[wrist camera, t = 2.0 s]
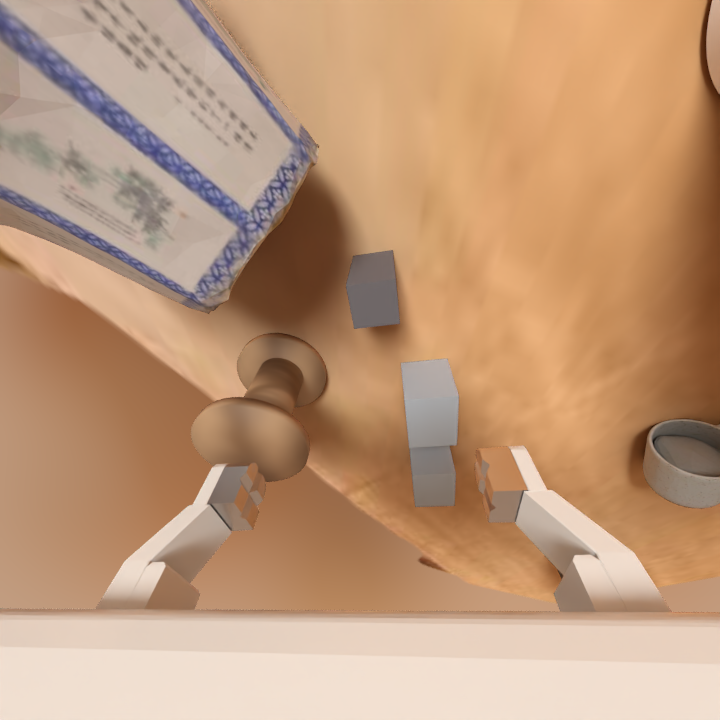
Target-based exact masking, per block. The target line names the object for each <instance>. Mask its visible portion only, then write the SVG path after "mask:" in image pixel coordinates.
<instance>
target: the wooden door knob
mask: <svg viewBox="0 0 720 720" xmlns="http://www.w3.org/2000/svg"><path fill="white" fill-rule="evenodd" d="M237 371H238V375H239V378H240V380H241V382H242V383H243V385H244V386H245V388H246V389H247V392H246V394H245V396H244V397H232V398H224V399H221V400H217V401H215V402H212V403H211V404H209V405H207V406H206V407H205V408H204V409H203V410H202V411H201V413H200V414H199V415H198V417H197V418H196V420H195V421H194V423H193V425H192V428H191V439H192V442H193V445H194V447H195V448H196V450H197V451H198V453H199V454H200V455H201V456H202V457H203V458H204V459H205V460H206V461H207V462H209V463H210V464H211V465H213V466H215V465H216V464H228V463H256V465H257V466H258V471H257V472H259V473H260V474H262V475H263V477H264V478H265V482H272V481H279V480H284V479H287V478H290V477H292V476H294V475H296V474H297V473H298V472H300V471H301V470H302V469H303V467H304V466H305V464H306V462H307V459H308V455H309V450H310V440H309V436H308V434H307V432H306V430H305V428H304V427H303V426H302V424H301V423H300V422H299V421H298V420H297V419H296V418H295V417H294V416H292V414H293V411H294V408H295V407H301V406H304V405H307V404H309V403H311V402H313V401H314V400H316V399H317V398H318V397H319V396H320V394H321V393H322V391H323V389H324V386H325V382H326V376H327V372H326V366H325V364H324V361H323V359H322V357H321V356H320V355H319V353H318V352H317V351H316V350H315V349H314V348H313V347H312V346H311V345H309V344H308V343H306V342H305V341H303V340H301V339H299V338H297V337H294V336H291V335H287V334H280V333H270V334H264V335H261V336H258V337H256V338H254V339H253V340H251V341H250V342H249V343H248V344H247V345H246V346H245V347H244V349H243V350H242V352H241V353H240V355H239V357H238V361H237Z"/></svg>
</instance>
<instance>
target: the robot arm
mask: <svg viewBox="0 0 720 720" xmlns="http://www.w3.org/2000/svg"><path fill="white" fill-rule="evenodd" d="M706 52H707V62H708V68H709V72H710V76H711V79H712V81H713V84H714V86H715V88H716V90H717V91H718V93H719V94H720V0H712V4H711V9H710V14H709V20H708V27H707V38H706ZM476 458H477V462H476V463H475V478H476V482H477V486H478V490H479V491H480V492H481V493H482V494H483V506H484V510H485V513H486V516H487V519H488V522H516V523H515V524H516V525H517V526H518V527H519V528H520V529H521V530H522V531H523V533H524V534H525V535H526V536H527V537H528V538H529V539H530V540H531V541H532V542H533V543H534V544H535V545H536V547H537V548H538V549H539V550H540V551H541V552H542V553H543V554H544V555H545V556H546V557H547V558H548V559H549V561H550V562H551V563H552V564H553V565H554V566H555V567H556V568H557V569H558V570H559V571H560V572H561V573H562V575H563V578H562V580H561V582H560V583H559V585H558V587H557V589H556V591H555V593H554V596H555V599H556V601H557V604H558V606H559V609H560V612H541V611H540V612H539V611H536V612H535V611H527V612H526V611H365V610H363V611H362V610H361V611H360V610H358V611H357V610H194V609H195V606H196V604H197V601H198V599H199V596H200V593H199V591H198V590H197V589H196V588H195V587H194V586H192V585H191V584H190V582H191V581H192V580H193V579H194V578H195V576H196V575H197V574H198V573H199V572H200V570H201V569H202V568H203V567H204V566H205V564H206V563H207V561H209V559H210V558H211V557H212V556H213V555H214V553H215V552H216V551H217V550H218V548H219V547H220V546H221V545H222V543H223V542H224V541H225V540H226V539H227V538H228V536H229V535H230V534H231V533H232V532H231V531H238V530H253V529H254V526H255V523H256V520H257V517H258V514H259V510H258V507H257V505H259V504H260V503H261V501H262V500H263V498H264V495H265V490H266V483H265V478H264V477H263V475H262V474H260V473H259V472H257V471H258V466H257V465H256V463H228V464H216V465H215V466H214V467H213V468H212V469H211V471H210V473H209V475H208V477H207V479H206V480H205V482H204V484H203V486H202V488H201V490H200V492H199V494H198V496H197V498H196V500H195V501H194V503H193V505H189V506H188V507H186V508H185V509H184V510H183V511H182V512H181V513H180V514H178V515H177V516H176V517H175V518H174V519H173V520H172V521H170V522H169V523H168V524H167V525H166V526H165V527H164V528H162V529H161V530H160V531H159V532H158V533H157V534H156V535H154V536H153V537H152V538H151V539H150V540H149V541H147V542H146V543H145V544H144V545H143V546H142V547H141V548H139V549H138V550H137V551H136V552H135V553H134V554H132V555H131V556H130V557H129V558H128V559H127V560H126V561H125V562H124V563H123V565H122V567H121V569H120V570H119V571H118V573H117V575H116V576H115V578H114V580H113V581H112V583H111V584H110V586H109V588H108V589H107V591H106V593H105V594H104V596H103V597H102V599H101V601H100V602H99V604H98V606H97V607H96V609H9V608H0V720H720V613H718V612H717V613H716V612H711V613H710V612H706V613H705V612H672V611H671V610H670V608H669V607H668V605H667V603H666V602H665V600H664V599H663V597H662V596H661V594H660V593H659V591H658V589H657V588H656V586H655V585H654V583H653V581H652V580H651V578H650V577H649V575H648V574H647V572H646V570H645V569H644V567H643V566H642V564H641V563H640V561H639V559H638V558H637V556H636V555H635V553H634V552H632V551H631V550H630V549H629V548H627V547H626V546H625V545H623V544H622V543H621V542H619V541H618V540H617V539H616V538H614V537H613V536H612V535H610V534H609V533H608V532H606V531H605V530H604V529H603V528H601V527H600V526H599V525H597V524H596V523H595V522H593V521H592V520H591V519H589V518H588V517H587V516H586V515H584V514H583V513H582V512H580V511H579V510H578V509H576V508H575V507H574V506H573V505H571V504H570V503H569V502H567V501H566V500H565V499H563V498H562V497H561V496H560V495H558V494H557V493H556V492H554V491H553V490H547V488H546V486H545V484H544V482H543V480H542V478H541V476H540V475H539V473H538V471H537V469H536V467H535V465H534V463H533V461H532V459H531V457H530V455H529V453H528V451H527V449H526V448H525V447H524V446H509V447H507V446H503V447H490V448H477V450H476Z"/></svg>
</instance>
